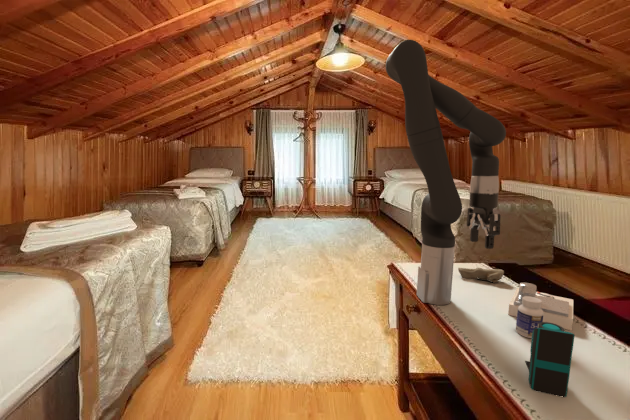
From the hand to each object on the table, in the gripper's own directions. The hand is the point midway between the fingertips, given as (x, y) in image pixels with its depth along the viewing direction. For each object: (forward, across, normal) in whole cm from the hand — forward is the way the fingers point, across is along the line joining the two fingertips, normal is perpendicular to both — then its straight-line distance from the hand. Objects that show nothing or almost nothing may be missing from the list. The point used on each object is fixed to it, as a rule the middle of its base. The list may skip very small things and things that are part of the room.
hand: (481, 244), depth 100 cm
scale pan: (+15, +11, +12) cm, 22 cm away
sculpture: (+18, -18, +10) cm, 27 cm away
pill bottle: (+18, +21, +1) cm, 27 cm away
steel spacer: (+14, +9, +9) cm, 19 cm away
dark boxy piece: (+17, +38, -8) cm, 43 cm away
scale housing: (+18, +9, +13) cm, 24 cm away
